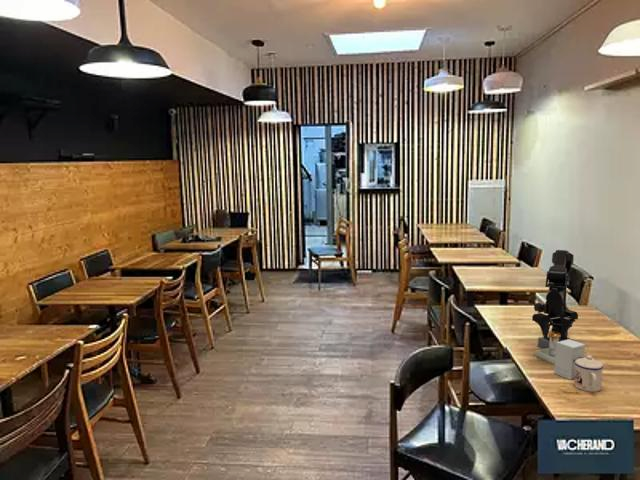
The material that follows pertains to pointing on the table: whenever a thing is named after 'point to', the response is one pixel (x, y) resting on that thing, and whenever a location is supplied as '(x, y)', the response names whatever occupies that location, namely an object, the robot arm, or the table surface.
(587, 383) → the teacup with lid
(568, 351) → the supplement box
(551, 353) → the pin
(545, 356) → the tray
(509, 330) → the table surface
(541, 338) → the bracket
